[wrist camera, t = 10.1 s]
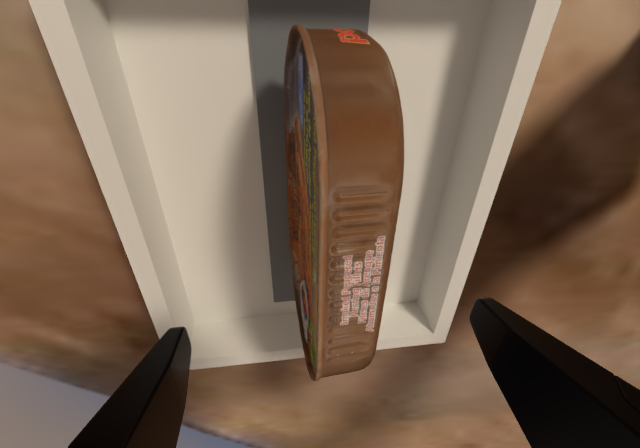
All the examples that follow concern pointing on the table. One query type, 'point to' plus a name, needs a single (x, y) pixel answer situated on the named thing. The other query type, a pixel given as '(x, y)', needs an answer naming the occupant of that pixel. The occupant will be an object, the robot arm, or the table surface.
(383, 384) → the table surface
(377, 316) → the tin
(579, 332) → the table surface
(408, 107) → the tray
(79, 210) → the table surface
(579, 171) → the table surface
